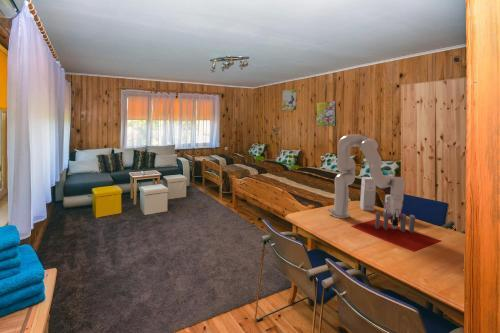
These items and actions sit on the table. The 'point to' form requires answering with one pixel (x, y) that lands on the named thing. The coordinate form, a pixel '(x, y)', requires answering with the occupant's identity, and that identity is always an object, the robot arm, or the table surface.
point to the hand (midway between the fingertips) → (394, 223)
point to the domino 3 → (392, 225)
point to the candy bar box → (387, 206)
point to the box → (367, 194)
